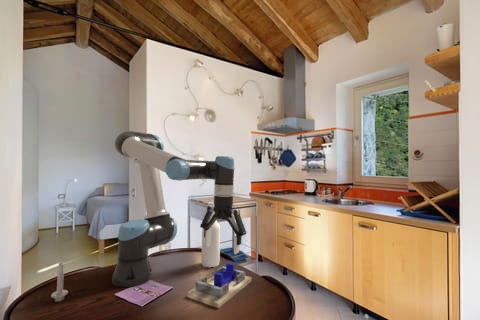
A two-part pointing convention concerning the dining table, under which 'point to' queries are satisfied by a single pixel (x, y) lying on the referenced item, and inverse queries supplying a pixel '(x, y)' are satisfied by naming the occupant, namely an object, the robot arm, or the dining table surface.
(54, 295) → the screw
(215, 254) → the alcohol
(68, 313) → the dining table surface
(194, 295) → the board
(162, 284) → the dining table surface
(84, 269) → the dining table surface
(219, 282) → the cable clip
